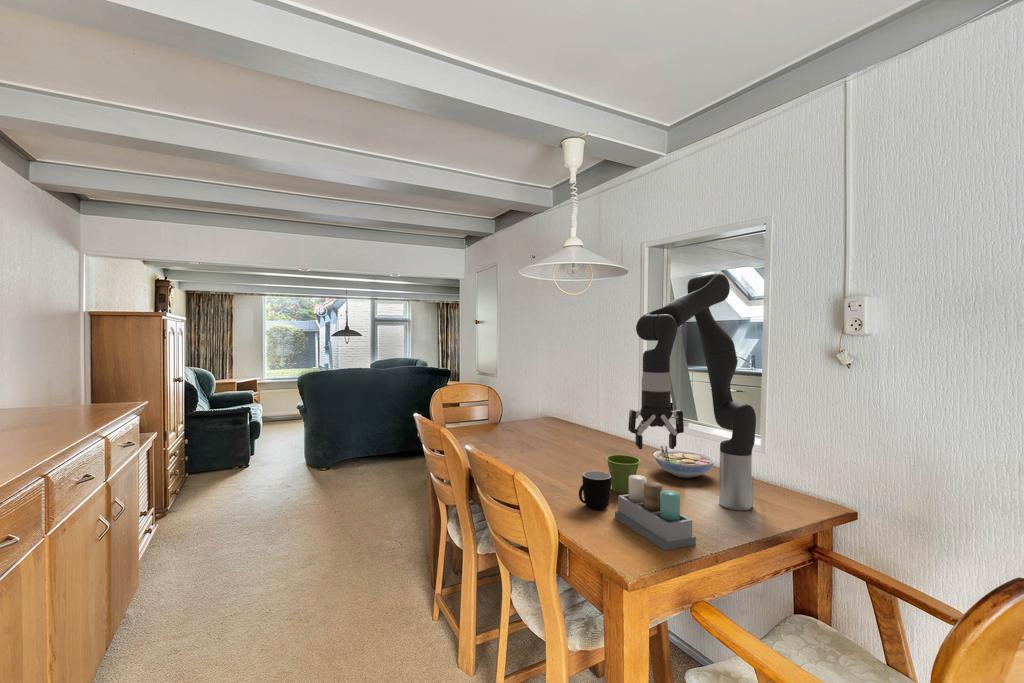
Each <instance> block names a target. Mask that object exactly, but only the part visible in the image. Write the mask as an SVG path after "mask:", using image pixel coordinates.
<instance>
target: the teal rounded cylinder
mask: <svg viewBox="0 0 1024 683" xmlns="http://www.w3.org/2000/svg"><path fill="white" fill-rule="evenodd" d="M680 514H681V493H680V492H678V491H676V490H672V489H670V490H669V489H662V491H661V492H660V518H662V519H663V520H666V521H672V522H675V521H679V520H680Z"/></svg>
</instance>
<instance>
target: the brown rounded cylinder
mask: <svg viewBox="0 0 1024 683" xmlns="http://www.w3.org/2000/svg"><path fill="white" fill-rule="evenodd" d="M663 488H664V487H663V485H662V484H661V483H659V482H652V481H646V483H644V509H646V510H648V511H653V512H658V511H660V492H661V491H663Z"/></svg>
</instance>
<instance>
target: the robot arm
mask: <svg viewBox="0 0 1024 683" xmlns="http://www.w3.org/2000/svg"><path fill="white" fill-rule="evenodd" d="M730 289H731V287H730V283H729V279H728V277H727V276H726V275H724V273H721V272H714V273H709V274H703V275H702V274H701V275H698V276H693V277H691V278H690V279H689V280H688V282H687V293H686V294H684V295H681V296H678V297H677V298H675V299H673V300H672V301H670V302H668V303H667V304H666V305H664V306H663V307H660V308H657V309H654V310H652V311H649V312H647V313H645V314H643V315H642V316H641V317H640V318H639V319H637V320H638V321H637V322H636V325H635V332H636V335H637V336H638V337H639V338H640V339H641V340H644V341H649V342H650V341H654V342H655V341H656V342H657V343H656V345H655V347H654V348H651V349H647V350H645V351H644V352H643V354H642V374H641V375H642V376H641V408H640V410H634V409H629V411H628V412H629V413H628V414H629V415H628V425H627V426H628V429H627V430H628V431H629V432H630V433H631V434H635V441H634V442H635V446H636V447H637V448H638V450H643V439H644V438H643V435H642V434H643V433H644V432H645V431H646V430H647V429H648V428H649V427H651V428H653V427H659V428H660V427H661V428H663V427H665V428H666V429H667V431H668V432H669V434H668V449H669V450H675V448H676V447H677V435H679V434H683V433H684V430H685V429H684V428H685V426H684V413H683V411H682V410H680V409H675V410H672V408H671V404H672V403H671V402H672V400H671V399H672V395H671V394H672V380H671V365H670V364H671V354H672V352H673V347H674V344H675V341H676V337H677V334H678V328H680V327H681V326H683V325H684V324H685V323H686V322H688V321H689V320H690V319H692V318H693V317H694V319H695V321H696V325H697V329H698V333H699V337H700V341H701V345H702V346H701V347H702V352H703V357H704V362H705V365H706V370H707V374H708V379H709V383H710V389H711V390H710V391H711V396H712V397H711V398H712V408H713V415H714V419H715V423H716V424H717V425H718V426H719V427H720V428H722V429H724V430H729V431H732V434H731V438H730V439H727V440H722V441H721V442H720V444H719V486H718V487H719V489H718V490H719V493H718V494H719V495H718V496H719V497H718V504H719V505H721V507H723V508H725V509H729V510H733V511H740V512H741V511H749V510H751V508H754V497H755V496H754V495H755V494H754V489H755V488H754V487H755V486H754V485H755V484H754V483H755V479H754V477H753V476H752V474H753V473H752V471H753V469H752V468H753V467H752V466H753V465H752V464H753V462H752V461H753V458H752V457H753V448H754V447H755V446H754V445H755V442H756V429H757V428H756V427H757V426H756V425H757V416H756V411H755V408H753V406H752V405H750V404H747V403H743V402H738V401H737V402H736V401H734V400H733V396H732V391H731V382H732V380H733V377H734V374H735V373H736V369H737V366H738V356H737V351H736V346H735V343H734V341H733V340H734V339H732V338H731V336H730V335H729V334H728V332H727V331H725V330H724V328H723V327H722V326H721V325H719V323H718V322H717V321H716V319H715V318H714V317H713V315H712V313H711V309H710V307H713V306H714V305H717V304H719V303H722V302H724V301H725V300H727V298H728V297H729V294H730V291H731V290H730ZM639 416H640V417H641V418H642V420H641V421H640V422H639V423H638V426H637V427H636V424H637V421H636V420H637V419H638V418H639ZM672 416H673V418H674V419H675V427H674V426H673V424H672V423H671V421H670V419H671V417H672Z"/></svg>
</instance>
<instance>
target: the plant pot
mask: <svg viewBox="0 0 1024 683" xmlns="http://www.w3.org/2000/svg"><path fill="white" fill-rule="evenodd" d="M605 460H606V461H607V467H608V468H609V469H608V470H609V474H610V475H611V491H613V492H614V493H617V494H620V495H625V494H626V495H627V494H629V476H630V475H637V472H638V469H639V465H640V463H641V459H640V458H639V457H637V456H634V455H628V454H611V455H606V457H605Z"/></svg>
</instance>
